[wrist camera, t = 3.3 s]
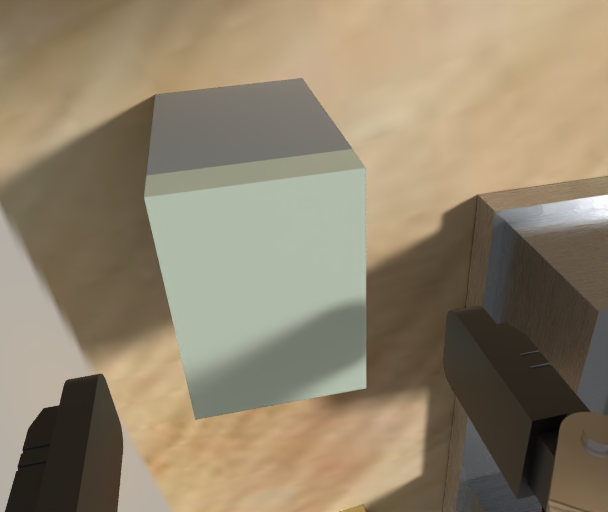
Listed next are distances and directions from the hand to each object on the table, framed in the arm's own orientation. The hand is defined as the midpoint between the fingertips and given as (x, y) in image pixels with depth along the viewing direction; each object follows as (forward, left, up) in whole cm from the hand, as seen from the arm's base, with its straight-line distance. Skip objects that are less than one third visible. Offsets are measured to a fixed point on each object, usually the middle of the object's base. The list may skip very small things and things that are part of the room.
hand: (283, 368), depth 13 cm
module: (0, 0, -10) cm, 10 cm away
